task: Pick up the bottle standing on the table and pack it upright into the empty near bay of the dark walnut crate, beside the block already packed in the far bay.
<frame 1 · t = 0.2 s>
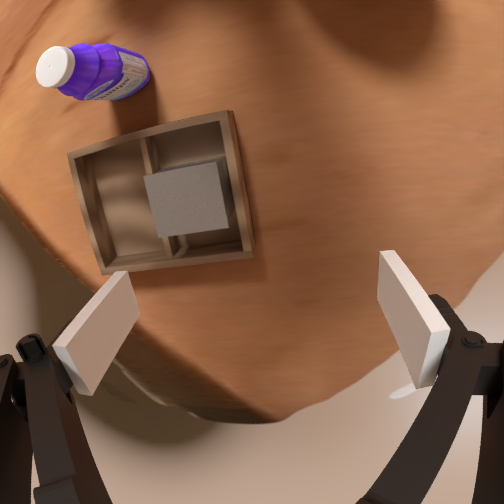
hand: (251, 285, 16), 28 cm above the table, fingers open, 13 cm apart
crate: (165, 192, 43), on the table
block: (200, 187, 42), point 1 cm above the table, touching crate
bottle: (129, 78, 37), on the table
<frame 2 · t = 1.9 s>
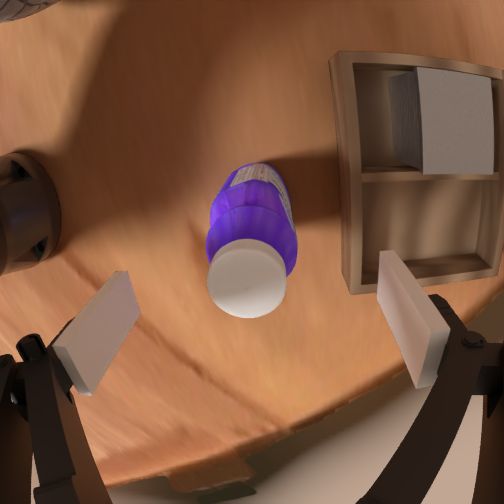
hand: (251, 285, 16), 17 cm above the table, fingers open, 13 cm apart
crate: (420, 167, 29), on the table
block: (422, 118, 27), point 1 cm above the table, touching crate
bottle: (259, 196, 32), on the table
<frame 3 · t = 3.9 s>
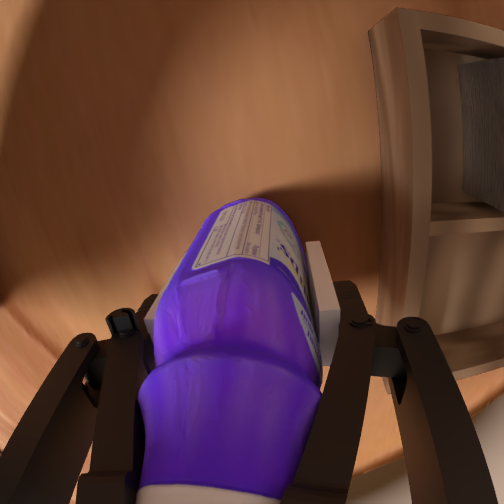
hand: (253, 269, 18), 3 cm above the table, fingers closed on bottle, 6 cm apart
crate: (493, 203, 18), on the table
block: (502, 131, 15), point 1 cm above the table, touching crate
bottle: (256, 247, 21), on the table, touching gripper
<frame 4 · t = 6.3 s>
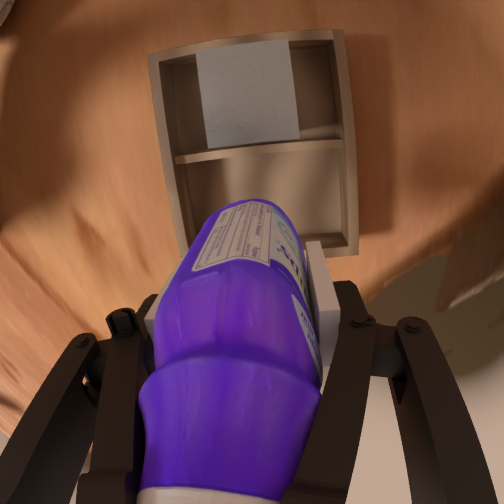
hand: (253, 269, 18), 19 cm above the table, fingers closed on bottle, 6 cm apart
decorative sphere: (1, 6, 25), on the table
crate: (259, 146, 33), on the table
block: (253, 97, 30), point 1 cm above the table, touching crate
bottle: (256, 248, 21), point 15 cm above the table, touching gripper
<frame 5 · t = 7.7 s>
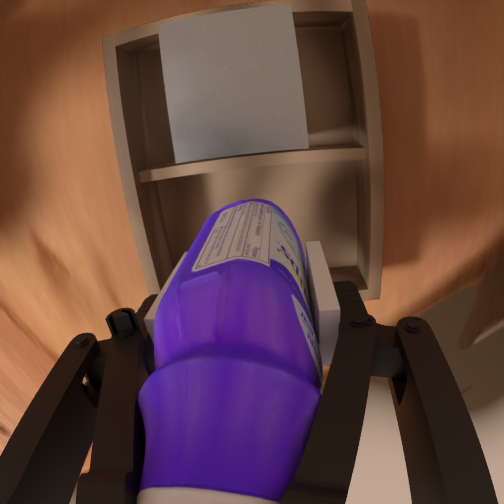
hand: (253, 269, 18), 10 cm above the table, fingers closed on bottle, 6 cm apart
crate: (252, 155, 25), on the table
block: (243, 90, 22), point 1 cm above the table, touching crate
bottle: (256, 248, 21), point 7 cm above the table, touching gripper
when the fingers open (5 cm above the table, at t = 8.9 s): bottle drops 2 cm, resting on crate.
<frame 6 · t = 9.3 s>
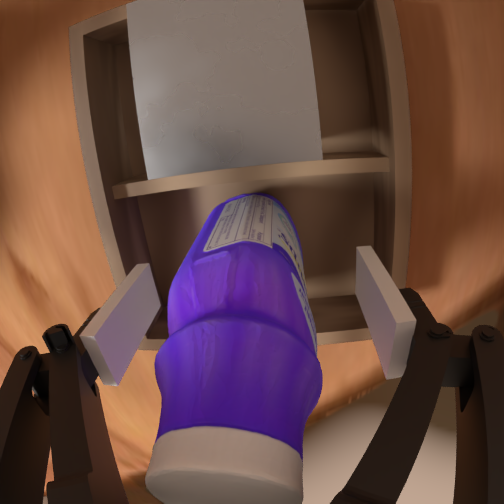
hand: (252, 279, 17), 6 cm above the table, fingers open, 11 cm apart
crate: (250, 163, 21), on the table
block: (239, 85, 18), point 1 cm above the table, touching crate
bottle: (256, 239, 22), point 1 cm above the table, touching crate
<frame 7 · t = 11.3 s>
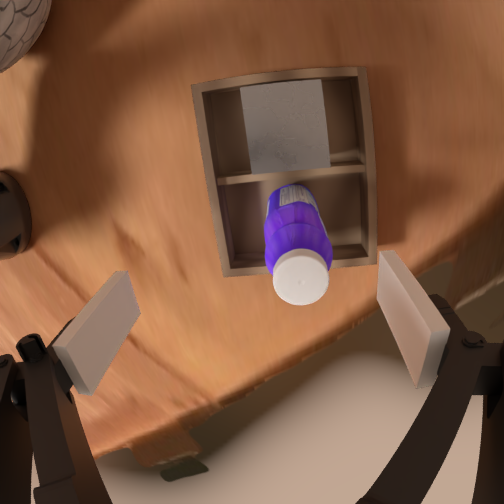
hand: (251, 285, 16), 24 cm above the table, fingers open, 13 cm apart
decorative sphere: (30, 22, 30), on the table
crate: (290, 168, 37), on the table
block: (285, 125, 35), point 1 cm above the table, touching crate
bottle: (294, 210, 39), point 1 cm above the table, touching crate
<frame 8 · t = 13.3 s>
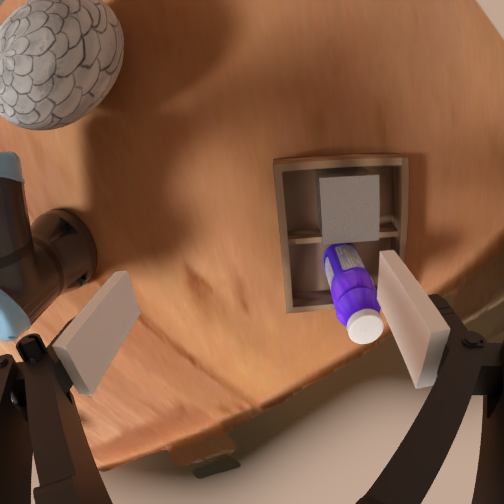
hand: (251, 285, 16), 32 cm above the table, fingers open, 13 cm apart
decorative sphere: (90, 64, 40), on the table
crate: (340, 228, 48), on the table
block: (340, 195, 45), point 1 cm above the table, touching crate
bottle: (340, 260, 49), point 1 cm above the table, touching crate
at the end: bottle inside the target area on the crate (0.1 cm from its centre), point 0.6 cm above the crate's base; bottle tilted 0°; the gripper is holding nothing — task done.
